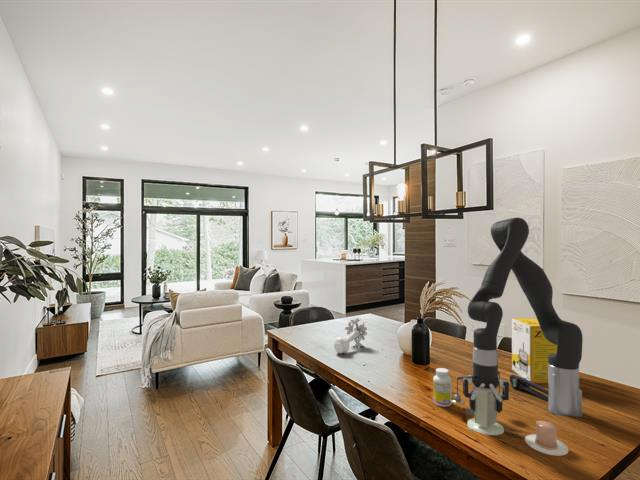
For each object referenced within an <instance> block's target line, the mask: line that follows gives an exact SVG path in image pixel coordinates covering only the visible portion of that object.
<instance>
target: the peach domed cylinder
mask: <svg viewBox="0 0 640 480" xmlns="http://www.w3.org/2000/svg"><path fill="white" fill-rule="evenodd" d="M557 433H558V431H557V426H556V425H555V424H553V422H549V421H546V420H537V421H535V434H536V438H535V443H536V444H537V445H538V446H540V447H542V448H544V449H548V450H556V449H557V448H558V445H557V440H558V437H557Z"/></svg>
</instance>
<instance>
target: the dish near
mask: <svg viewBox="0 0 640 480" xmlns="http://www.w3.org/2000/svg"><path fill="white" fill-rule="evenodd" d="M535 438H536V433H533V434H531V433H530V434H528V435H525V438H524V441H525V443H526V444H527V445H528V446H529V447H530V448H532V449H534V450H536V451H537V452H540V453H542V454H546V455H549V456H560V457H561V456H565V455H567V454H568V453H569V448H568V446H567V445H566V444H565V443H564V442H562V441H561V440H559V439H557V445H558V448H557V449H556V450H548V449H544V448H542V447H540V446H538V445H537V444H536V443H535Z"/></svg>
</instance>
